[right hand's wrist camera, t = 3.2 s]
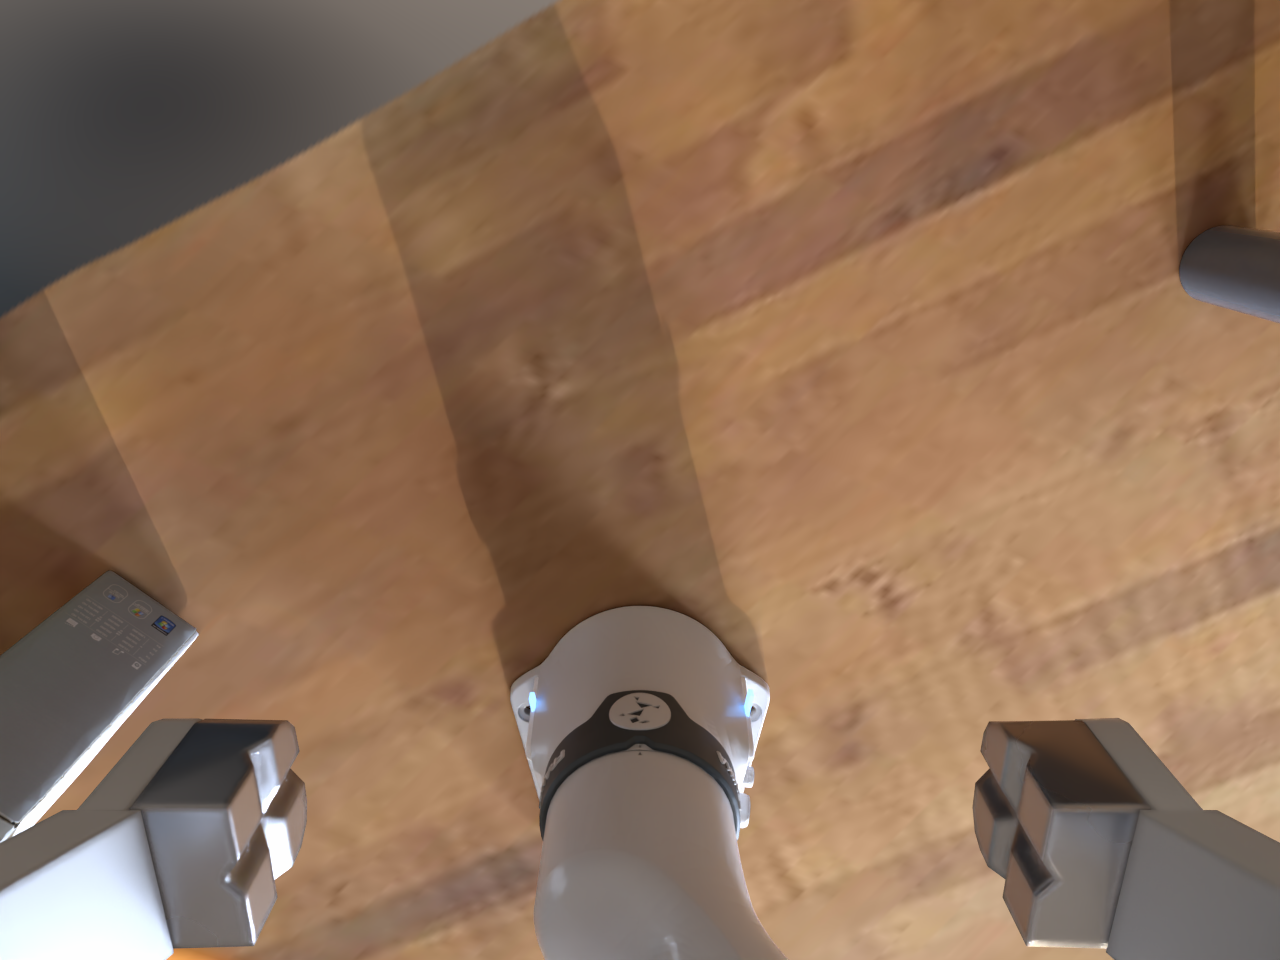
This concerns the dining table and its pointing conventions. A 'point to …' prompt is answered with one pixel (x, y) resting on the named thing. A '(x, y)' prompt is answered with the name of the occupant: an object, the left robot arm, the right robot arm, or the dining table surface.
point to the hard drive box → (77, 690)
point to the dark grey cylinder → (1235, 270)
